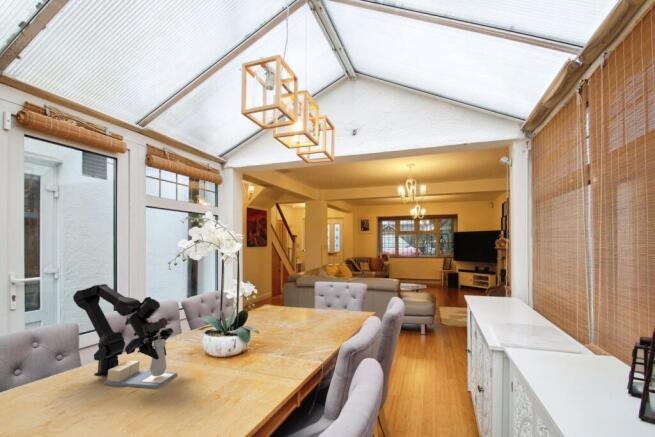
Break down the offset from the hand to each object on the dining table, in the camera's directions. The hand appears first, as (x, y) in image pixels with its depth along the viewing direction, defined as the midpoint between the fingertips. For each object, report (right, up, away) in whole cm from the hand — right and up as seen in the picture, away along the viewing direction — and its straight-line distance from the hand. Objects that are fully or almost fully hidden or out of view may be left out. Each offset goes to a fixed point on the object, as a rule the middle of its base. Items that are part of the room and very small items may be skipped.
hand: (161, 357), depth 121 cm
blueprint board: (-8, -9, +1) cm, 12 cm away
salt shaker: (-1, -7, 0) cm, 7 cm away
